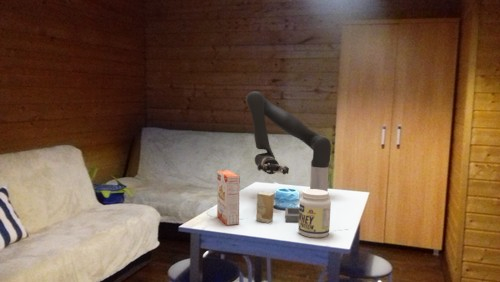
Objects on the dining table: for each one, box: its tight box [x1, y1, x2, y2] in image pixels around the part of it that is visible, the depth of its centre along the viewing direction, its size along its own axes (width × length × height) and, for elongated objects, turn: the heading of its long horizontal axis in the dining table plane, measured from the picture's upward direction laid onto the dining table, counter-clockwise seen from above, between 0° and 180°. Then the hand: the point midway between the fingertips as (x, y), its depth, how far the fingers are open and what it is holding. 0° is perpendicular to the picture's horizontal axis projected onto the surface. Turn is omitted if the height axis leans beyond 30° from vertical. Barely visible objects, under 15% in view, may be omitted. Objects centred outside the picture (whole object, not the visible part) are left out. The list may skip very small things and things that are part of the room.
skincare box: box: [255, 191, 275, 224], centre depth 185 cm, size 6×4×12 cm
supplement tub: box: [298, 188, 332, 239], centre depth 170 cm, size 12×12×17 cm
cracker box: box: [216, 169, 241, 226], centre depth 184 cm, size 14×6×21 cm, turn 21°
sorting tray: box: [284, 207, 299, 224], centre depth 191 cm, size 13×13×3 cm
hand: (275, 171), depth 193 cm, fingers open, 8 cm apart
